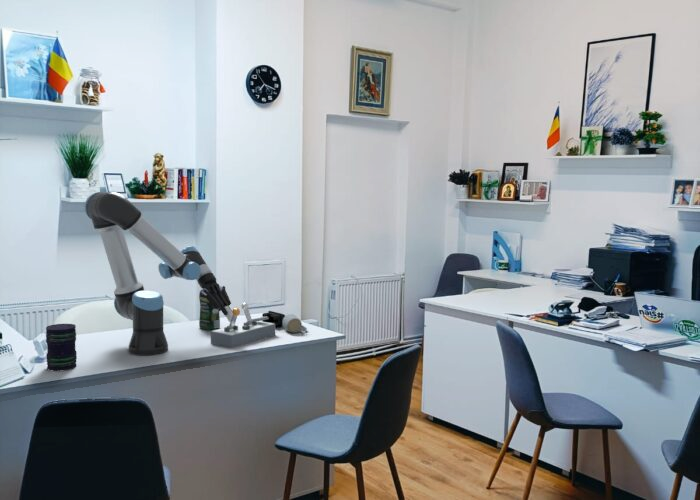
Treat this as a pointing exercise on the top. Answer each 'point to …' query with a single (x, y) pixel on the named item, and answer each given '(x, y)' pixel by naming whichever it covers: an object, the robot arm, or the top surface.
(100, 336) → the top surface
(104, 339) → the top surface
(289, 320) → the ceramic mug
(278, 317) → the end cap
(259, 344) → the top surface
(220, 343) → the console
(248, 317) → the silver ball lever
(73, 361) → the storage jar
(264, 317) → the rocker grey
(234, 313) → the lever orange
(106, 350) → the top surface
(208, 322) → the coffee jar
